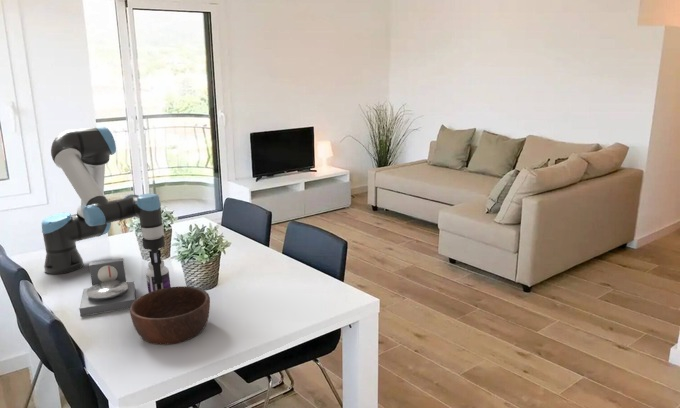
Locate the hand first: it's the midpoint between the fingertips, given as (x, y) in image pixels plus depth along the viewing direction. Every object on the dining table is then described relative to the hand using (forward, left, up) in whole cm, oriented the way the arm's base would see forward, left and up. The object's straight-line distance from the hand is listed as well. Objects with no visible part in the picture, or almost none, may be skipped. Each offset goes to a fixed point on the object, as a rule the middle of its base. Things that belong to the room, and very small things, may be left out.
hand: (160, 294), depth 200 cm
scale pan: (-5, -18, +1) cm, 19 cm away
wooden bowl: (+27, +3, -2) cm, 27 cm away
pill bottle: (0, 0, -2) cm, 2 cm away
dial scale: (-6, -18, -2) cm, 19 cm away
